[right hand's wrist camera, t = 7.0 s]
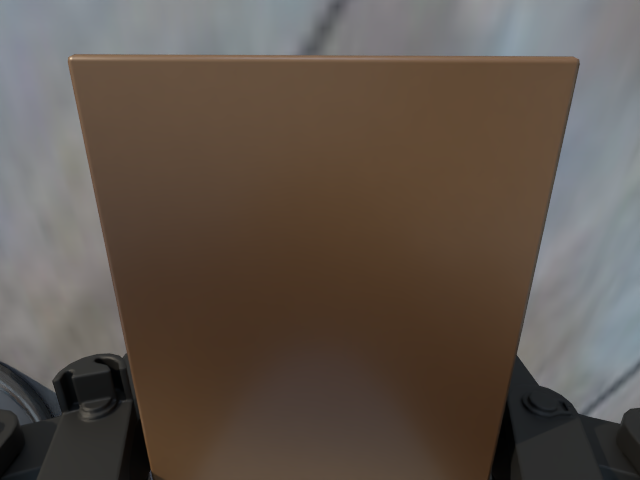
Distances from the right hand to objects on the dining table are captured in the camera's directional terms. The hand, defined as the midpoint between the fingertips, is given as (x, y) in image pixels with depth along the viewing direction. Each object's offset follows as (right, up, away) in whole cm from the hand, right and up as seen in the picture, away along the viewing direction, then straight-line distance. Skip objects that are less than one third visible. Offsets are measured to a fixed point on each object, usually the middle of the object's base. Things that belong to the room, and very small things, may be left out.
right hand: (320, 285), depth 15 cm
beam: (0, -26, +11) cm, 28 cm away
